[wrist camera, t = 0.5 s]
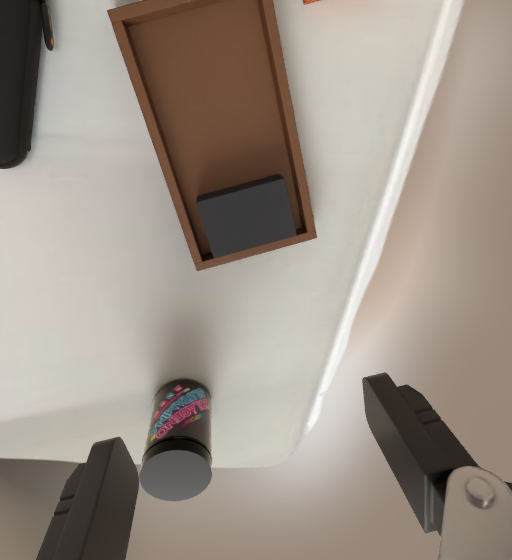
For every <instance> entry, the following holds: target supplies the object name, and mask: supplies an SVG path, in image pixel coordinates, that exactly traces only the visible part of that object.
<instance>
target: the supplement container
mask: <svg viewBox="0 0 512 560" xmlns="http://www.w3.org/2000/svg"><path fill="white" fill-rule="evenodd" d="M139 477H140V483H141V485H142V487H143V488H144V490H145V491H146V492H147V493H149V494H150V495H152V496H153V497H156V498H158V499H162V500H167V501H180V500H186V499H189V498H192V497H194V496H196V495H198V494H200V493H201V492H202V491H203V490H205V489H206V487H207V486H208V485H209V483H210V481H211V477H212V456H211V399H210V396H209V394H208V392H207V391H206V390H205V389H204V388H203V387H202V386H200V385H199V384H197V383H194V382H191V381H176V382H173V383H170V384H168V385H166V386H165V387H164V388H162V389H161V390H160V392H159V393H158V394H157V396H156V398H155V402H154V407H153V412H152V417H151V422H150V427H149V432H148V437H147V442H146V447H145V452H144V455H143V459H142V465H141V470H140V476H139Z"/></svg>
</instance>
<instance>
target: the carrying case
mask: <svg viewBox="0 0 512 560" xmlns="http://www.w3.org/2000/svg"><path fill="white" fill-rule="evenodd" d="M42 28H43V33H44V40H45V44H46V47H47V48H48V49H49V50H50V51H52V50H53V47H54V39H53V32H52V25H51V18H50V11H49V7H48V6H47V5H46V2H45V0H0V169H7V168H12V167H15V166H18V165H19V164H21V163H22V162H23V161H24V159H25V158H26V156H27V153H28V151H30V150H31V135H32V125H33V115H34V106H35V96H36V86H37V76H38V67H39V57H40V47H41V37H42Z"/></svg>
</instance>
